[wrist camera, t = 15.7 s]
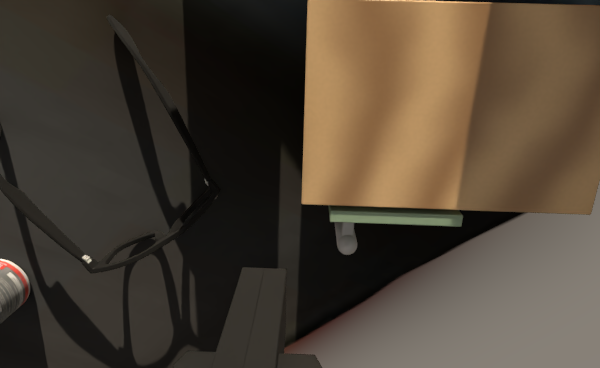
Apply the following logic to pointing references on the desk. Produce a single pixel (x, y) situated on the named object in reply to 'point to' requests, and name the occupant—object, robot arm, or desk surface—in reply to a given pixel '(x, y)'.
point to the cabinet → (452, 105)
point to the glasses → (161, 239)
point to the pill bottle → (12, 288)
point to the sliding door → (384, 220)
